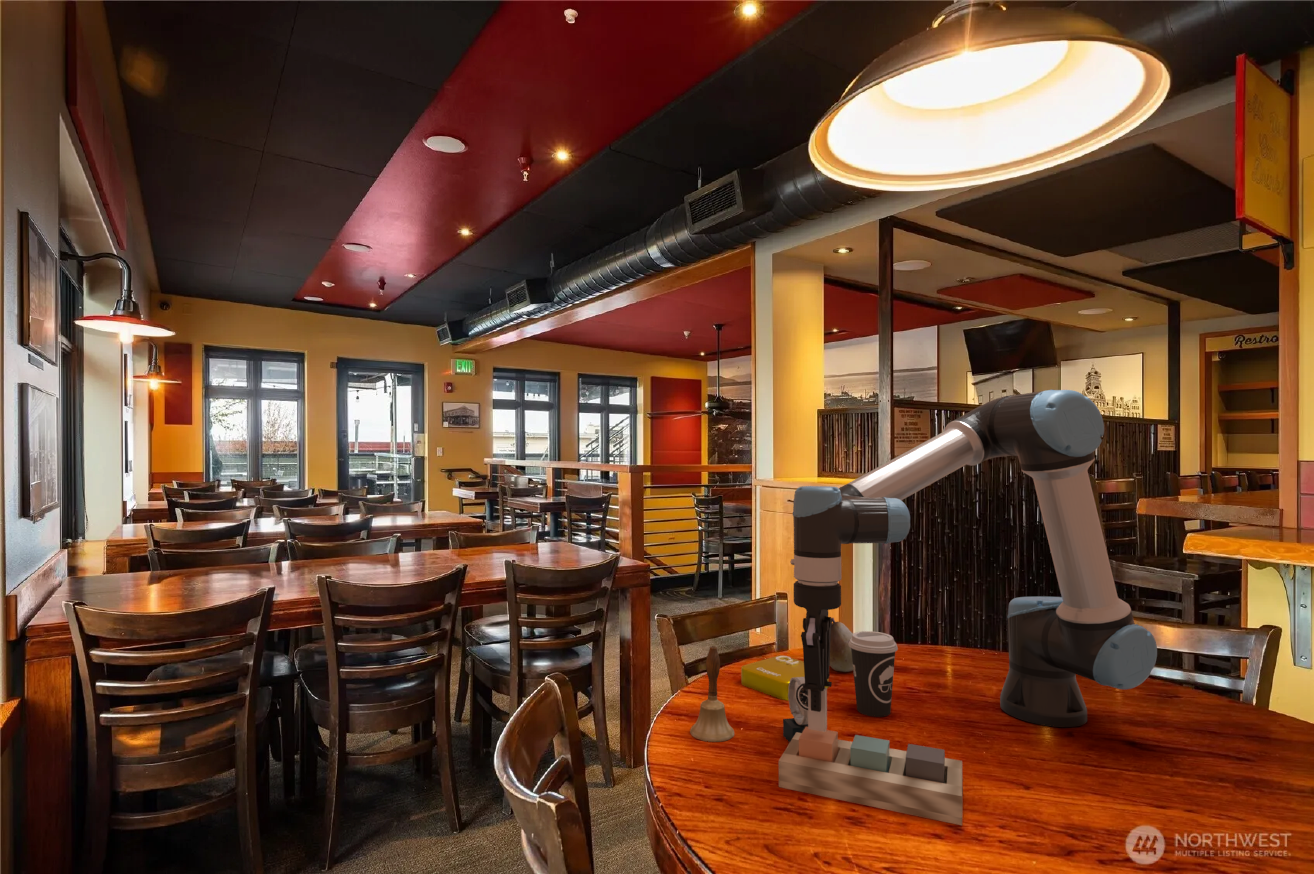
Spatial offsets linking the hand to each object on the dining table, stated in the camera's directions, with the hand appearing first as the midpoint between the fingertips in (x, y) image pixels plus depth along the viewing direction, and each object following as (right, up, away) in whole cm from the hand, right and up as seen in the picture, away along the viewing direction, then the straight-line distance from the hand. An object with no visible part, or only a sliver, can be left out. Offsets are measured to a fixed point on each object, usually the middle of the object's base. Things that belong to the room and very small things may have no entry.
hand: (817, 728), depth 107 cm
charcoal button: (+15, -5, -7) cm, 17 cm away
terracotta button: (0, -5, 0) cm, 5 cm away
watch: (+1, -8, +14) cm, 16 cm away
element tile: (+3, -10, +43) cm, 44 cm away
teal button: (+7, -5, -4) cm, 10 cm away
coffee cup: (+18, -9, +28) cm, 34 cm away
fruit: (+20, -10, +55) cm, 59 cm away
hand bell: (-16, -9, +17) cm, 25 cm away
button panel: (+7, -8, -4) cm, 11 cm away
